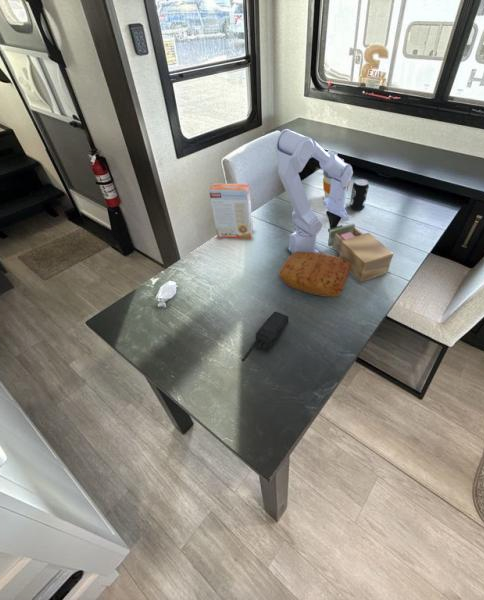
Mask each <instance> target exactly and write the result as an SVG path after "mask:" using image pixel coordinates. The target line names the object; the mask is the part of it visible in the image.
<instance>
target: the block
mask: <svg viewBox="0 0 484 600" xmlns="http://www.w3.org/2000/svg"><path fill="white" fill-rule="evenodd" d="M340 237H341V238H342V239H343V240H346V239H349V238H352V237H355V236H354V235H353V234H352V233H351V232H349V233H345V234H342V235H340Z"/></svg>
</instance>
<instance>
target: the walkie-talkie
mask: <svg viewBox="0 0 484 600" xmlns="http://www.w3.org/2000/svg"><path fill="white" fill-rule="evenodd" d="M288 323H289V316H288V315H286V314H283V313H281V312H278V311H274V312H273V313H272V314H271V315H270V316H269V317H268V318H267V319H266V320H265V322H264V323H263V324H262V325H261V327H260V328H259V329H257V332H256V333H255V340H254V341H253V343H252V345H251V346H250V348H249V349H248V351H247V352H246V353H245V354H244V356H243V357H242V358H241V362H242V363H243V362H245V361H246V360H247V358H248V357H249V356H250V355H251V354H252V353H253V351H254V350H255V349H256V348H257V349H260V350H262V351H265V352H268V351H269V350H270V349H271V348H272V347H273V345H274V344H275V343H276V341H277V340H278V338H279V337H280V335H281V334H282V332H283V331H284V329H285V328H286V326H287V325H288Z"/></svg>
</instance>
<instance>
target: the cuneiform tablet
mask: <svg viewBox="0 0 484 600" xmlns="http://www.w3.org/2000/svg"><path fill="white" fill-rule="evenodd" d="M350 267H351V263H350V262H348V261H346V260H344V259H342V258H339V256H338V257H337V256H334V255H330V254H325V253H320V252H319V253H313V252H295V253H293V254H292V253H291V254H290V255H289V257H288V258H287V259H286V261H285V262H284V263H283V265H282V266H281V268H280V271H279V276H278V277H279V278H280V280H281V281H282V282H283V283H284V284H285V285H287V286H289V287H290V288H292V289H295V290H298V291H301V292H304V293H306V294H307V293H308V294H311V295H315V296H320V297H321V296H324V297H329V298H334V297H335V298H336V297H338V296H340V295H341V294H342V292H343V289H344V287H345V285H346V283H347V280H348V277H349V275H350V272H349V271H350Z"/></svg>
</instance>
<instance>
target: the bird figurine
mask: <svg viewBox="0 0 484 600" xmlns="http://www.w3.org/2000/svg"><path fill="white" fill-rule="evenodd" d="M179 287H180V285H177V282H176V281H174V280H168V281H166V282H164V283H163V284H162V285H161V286H160V287H159V290H158V291H157V294H156V296H155V297H154V298H155V299H154V300H155V302H158V304H157V307H158V308H160V307H165V308H167V304H166V302H168V301H169V300H170V299H173V298H174V296H175V295H176V294H177V289H178V288H179Z"/></svg>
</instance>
